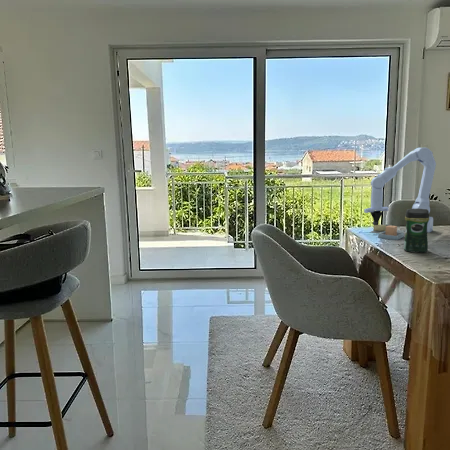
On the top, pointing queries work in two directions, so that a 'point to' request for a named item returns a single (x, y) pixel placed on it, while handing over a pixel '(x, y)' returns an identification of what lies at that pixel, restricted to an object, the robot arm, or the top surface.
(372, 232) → the plate
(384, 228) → the crank
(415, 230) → the coffee jar
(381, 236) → the tray
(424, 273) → the top surface
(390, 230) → the block
